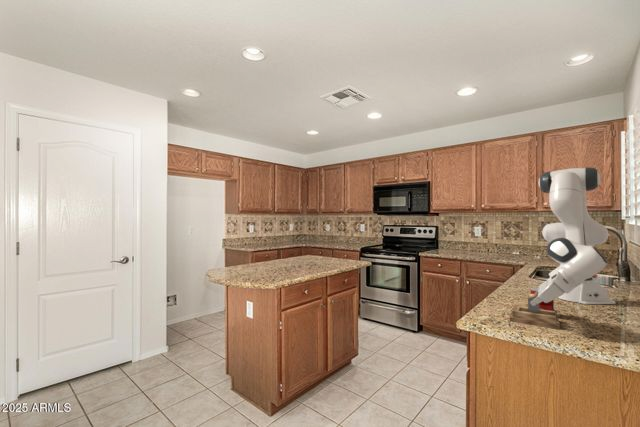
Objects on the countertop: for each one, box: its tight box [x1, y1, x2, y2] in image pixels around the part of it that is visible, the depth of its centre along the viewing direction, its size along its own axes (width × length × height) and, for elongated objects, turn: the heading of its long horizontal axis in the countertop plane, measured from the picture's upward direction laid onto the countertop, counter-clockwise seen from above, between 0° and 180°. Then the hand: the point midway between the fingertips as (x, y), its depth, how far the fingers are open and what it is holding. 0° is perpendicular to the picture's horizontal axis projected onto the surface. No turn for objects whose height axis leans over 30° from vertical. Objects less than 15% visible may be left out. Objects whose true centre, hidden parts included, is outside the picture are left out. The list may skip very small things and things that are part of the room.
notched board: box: [509, 305, 561, 330], centre depth 122 cm, size 16×11×4 cm
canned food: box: [530, 286, 555, 311], centre depth 131 cm, size 8×8×11 cm
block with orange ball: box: [527, 293, 539, 314], centre depth 122 cm, size 4×4×9 cm
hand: (531, 301), depth 123 cm, fingers open, 8 cm apart
